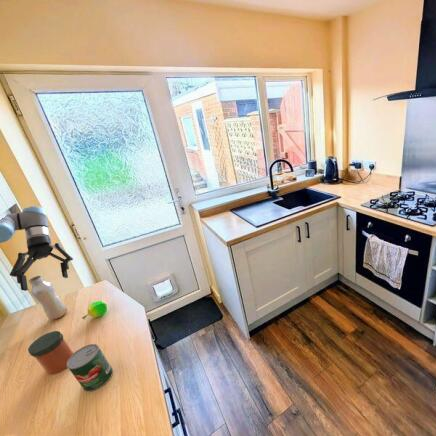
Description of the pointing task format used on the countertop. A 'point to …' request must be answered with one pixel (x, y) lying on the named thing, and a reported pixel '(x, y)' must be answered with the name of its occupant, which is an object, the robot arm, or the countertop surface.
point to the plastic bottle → (47, 298)
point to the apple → (96, 309)
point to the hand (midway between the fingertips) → (45, 283)
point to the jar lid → (45, 344)
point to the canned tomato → (90, 367)
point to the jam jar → (56, 358)
